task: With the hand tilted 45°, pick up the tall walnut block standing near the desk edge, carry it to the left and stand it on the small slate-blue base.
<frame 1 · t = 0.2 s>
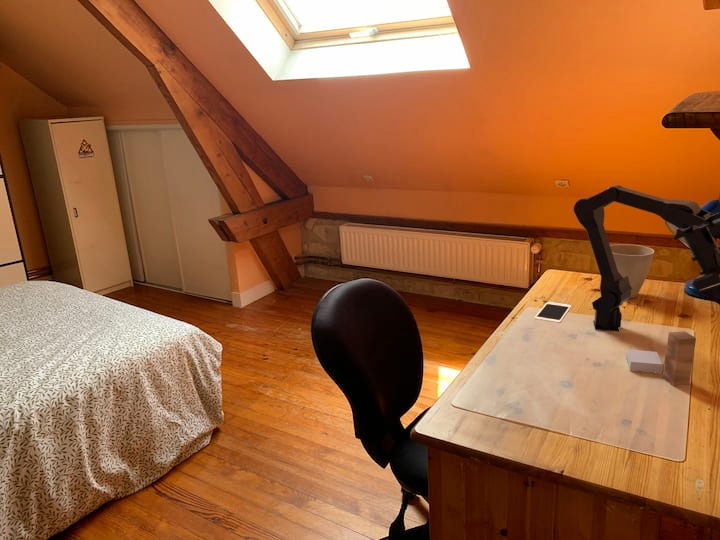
walnut block: (675, 381, 131), on the table
plant pot: (624, 295, 188), on the table
cell phone: (553, 313, 176), on the table
base: (642, 365, 140), on the table
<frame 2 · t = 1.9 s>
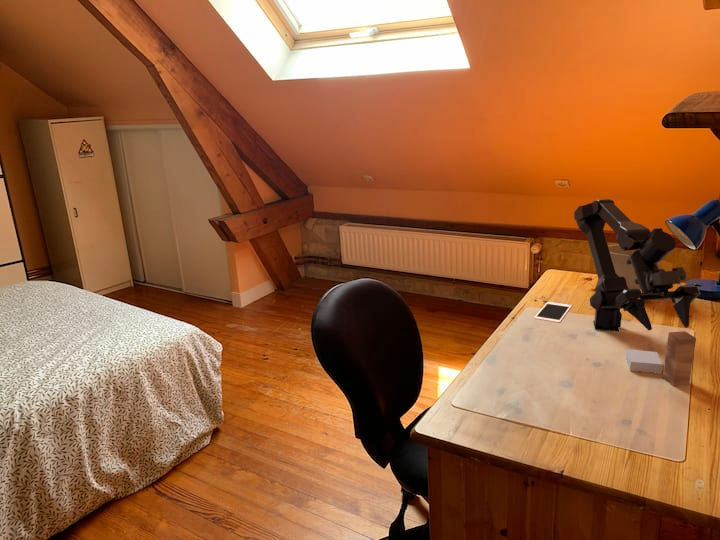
hand: (668, 328, 133), 12 cm above the table, tool tilted 45°, fingers open, 9 cm apart
nothing on the table moved.
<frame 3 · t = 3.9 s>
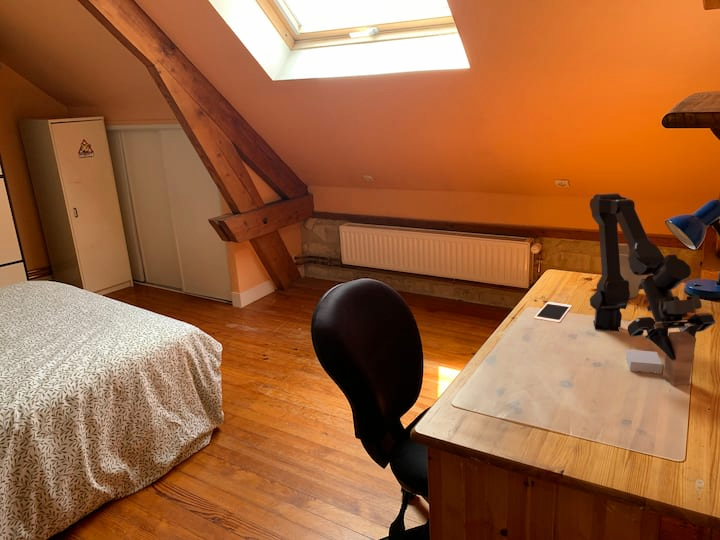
hand: (683, 358, 128), 7 cm above the table, tool tilted 45°, fingers closed on walnut block, 4 cm apart
walnut block: (675, 381, 131), on the table, touching gripper
everything else where it was.
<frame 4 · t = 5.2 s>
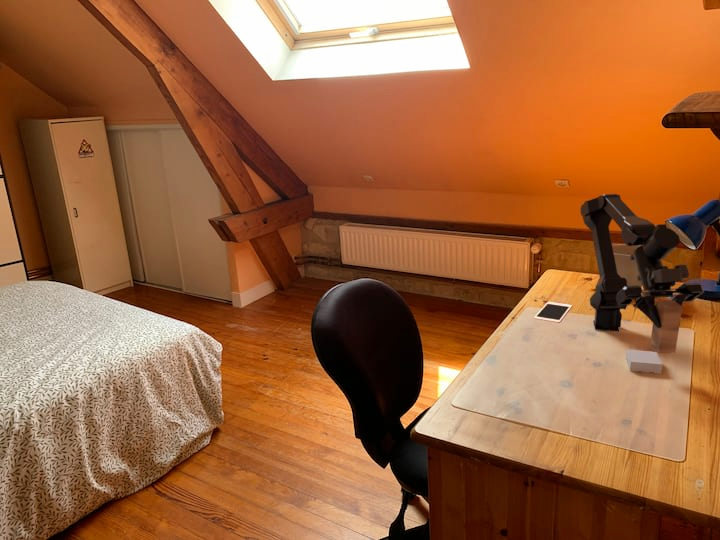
hand: (668, 327, 130), 13 cm above the table, tool tilted 45°, fingers closed on walnut block, 4 cm apart
walnut block: (662, 349, 134), point 6 cm above the table, touching gripper
everything else where it was.
when the fingers open (10 cm above the table, at t = 6.7 s): walnut block stays where it is, resting on base.
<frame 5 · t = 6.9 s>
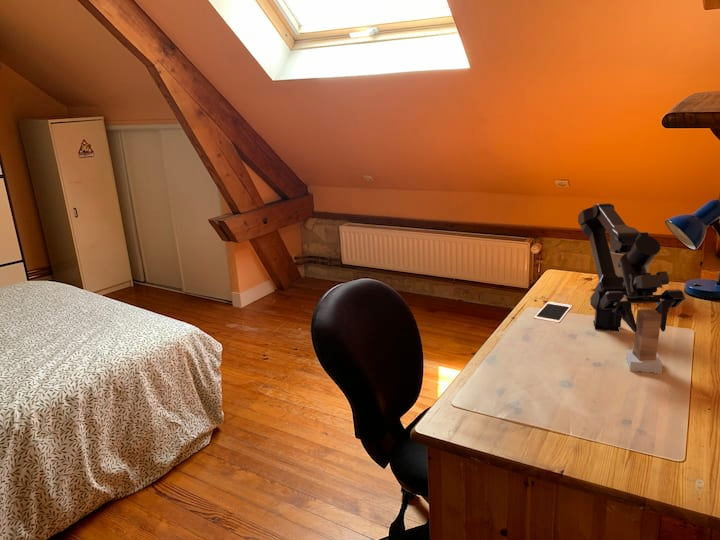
hand: (649, 331, 135), 10 cm above the table, tool tilted 45°, fingers open, 6 cm apart
walnut block: (643, 356, 139), point 3 cm above the table, touching base
everything else where it was.
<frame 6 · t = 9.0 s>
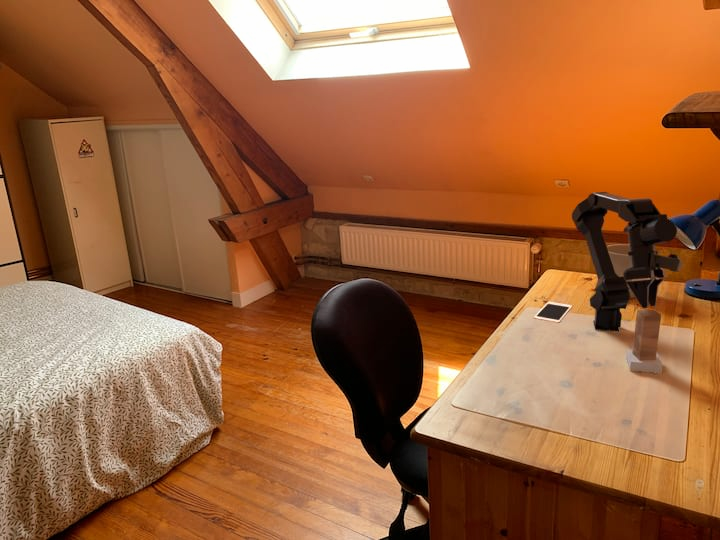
hand: (649, 307, 142), 13 cm above the table, tool tilted 20°, fingers open, 9 cm apart
nothing on the table moved.
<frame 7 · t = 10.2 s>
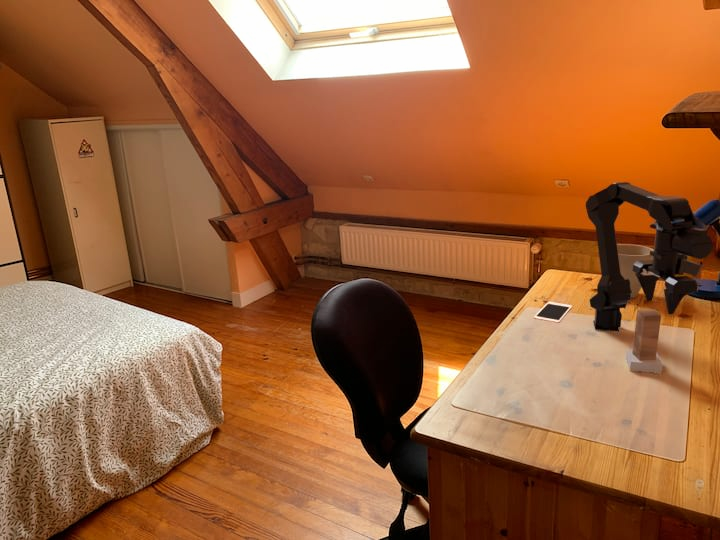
hand: (659, 307, 142), 13 cm above the table, tool pointing down, fingers open, 9 cm apart
nothing on the table moved.
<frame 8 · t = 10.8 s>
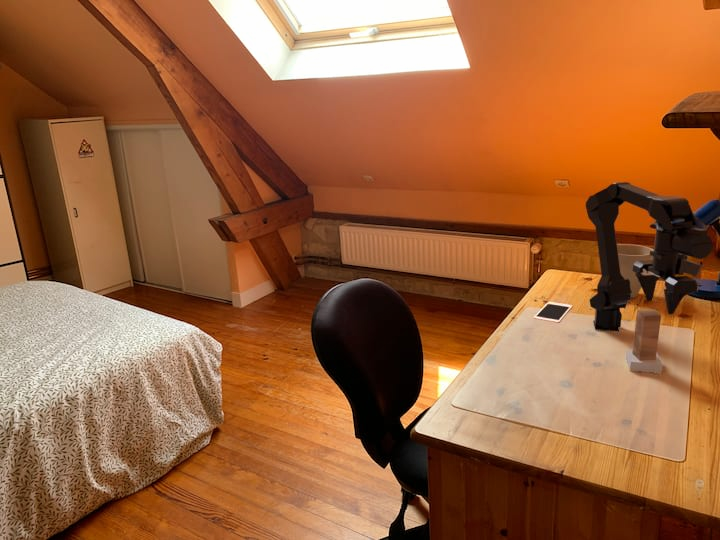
hand: (659, 307, 142), 13 cm above the table, tool pointing down, fingers open, 9 cm apart
nothing on the table moved.
at the end: walnut block 0.0 cm off-centre on the base, point 2.5 cm above the base's base; walnut block tilted 0° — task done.
